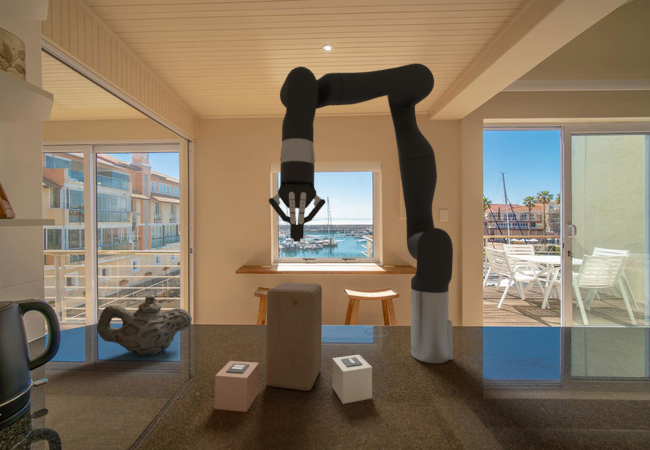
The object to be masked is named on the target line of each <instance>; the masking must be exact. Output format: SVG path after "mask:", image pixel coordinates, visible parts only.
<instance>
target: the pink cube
mask: <svg viewBox="0 0 650 450" xmlns="http://www.w3.org/2000/svg"><path fill="white" fill-rule="evenodd" d="M259 372H260V362H250V361H239V360H238V361H235V360H229V361H228V362H227V363H226V364H225V365H224V366H223V367H222V368H221V369H219V371H218V372H217V373H216V374H215V377H214V380H215V381H214V410H223V411H232V412H233V411H235V412H243V413H244V412H245V413H246V412H248V410H249V409H250V407H251V406H252V404H253V403H254V401H255V399H256V398H257V396H258V394H259V392H260V391H259V390H260V389H259V384H260V383H259V381H260V377H259V376H260V373H259Z"/></svg>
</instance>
